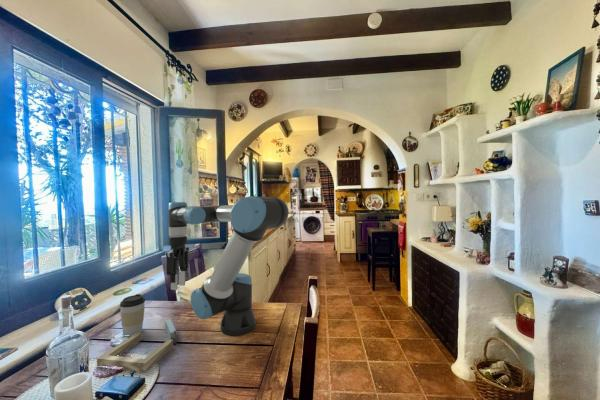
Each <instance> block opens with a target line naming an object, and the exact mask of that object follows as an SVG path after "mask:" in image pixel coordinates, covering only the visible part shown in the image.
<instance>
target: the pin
mask: <svg viewBox="0 0 600 400" xmlns="http://www.w3.org/2000/svg"><path fill="white" fill-rule="evenodd" d="M172 340H173V347H174V346H176V345H177V330H176V331H172Z"/></svg>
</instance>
